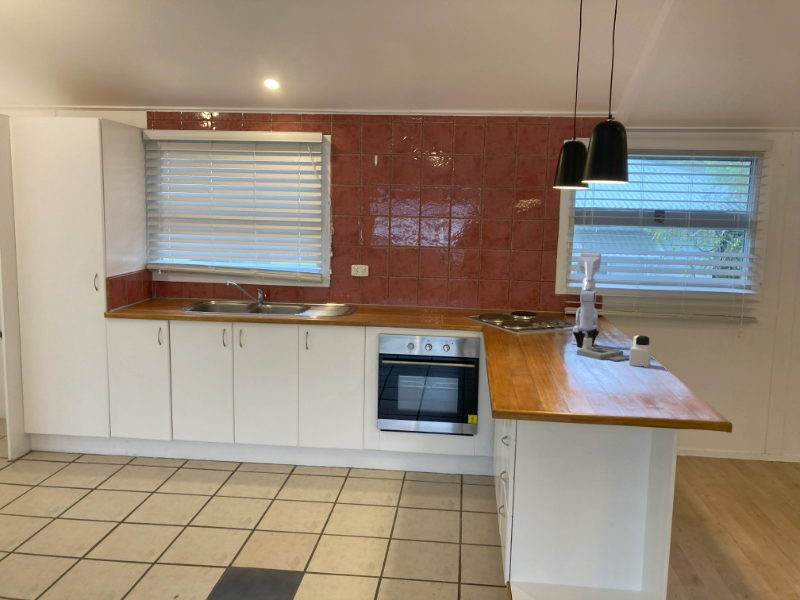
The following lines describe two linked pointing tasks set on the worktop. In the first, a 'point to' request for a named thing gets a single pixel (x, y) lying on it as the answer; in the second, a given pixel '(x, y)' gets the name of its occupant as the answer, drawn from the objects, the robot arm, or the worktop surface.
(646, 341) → the medicine bottle
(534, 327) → the worktop surface
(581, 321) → the robot arm
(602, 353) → the plate
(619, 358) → the phone
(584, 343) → the charger
